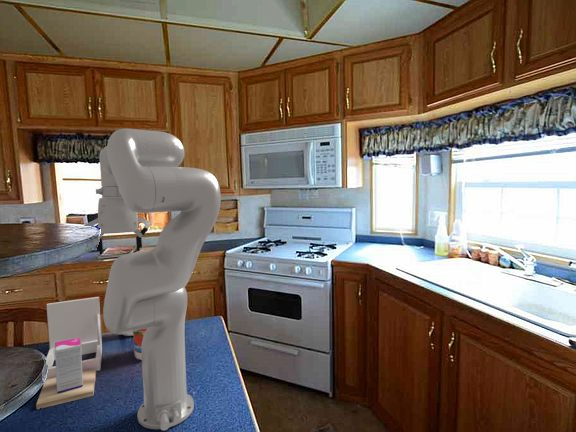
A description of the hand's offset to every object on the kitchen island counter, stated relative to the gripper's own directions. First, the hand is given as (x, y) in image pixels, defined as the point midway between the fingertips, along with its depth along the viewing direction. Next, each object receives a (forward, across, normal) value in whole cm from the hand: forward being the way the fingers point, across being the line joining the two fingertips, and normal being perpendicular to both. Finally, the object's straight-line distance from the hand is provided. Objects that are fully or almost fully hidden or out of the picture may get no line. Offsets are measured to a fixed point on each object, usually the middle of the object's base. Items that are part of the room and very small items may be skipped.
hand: (120, 251), depth 100 cm
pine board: (+34, -14, -7) cm, 38 cm away
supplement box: (+33, -14, -7) cm, 37 cm away
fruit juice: (+34, +7, +4) cm, 35 cm away
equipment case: (+34, -14, +7) cm, 38 cm away
